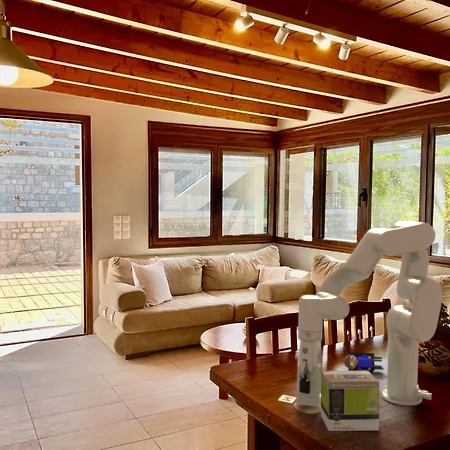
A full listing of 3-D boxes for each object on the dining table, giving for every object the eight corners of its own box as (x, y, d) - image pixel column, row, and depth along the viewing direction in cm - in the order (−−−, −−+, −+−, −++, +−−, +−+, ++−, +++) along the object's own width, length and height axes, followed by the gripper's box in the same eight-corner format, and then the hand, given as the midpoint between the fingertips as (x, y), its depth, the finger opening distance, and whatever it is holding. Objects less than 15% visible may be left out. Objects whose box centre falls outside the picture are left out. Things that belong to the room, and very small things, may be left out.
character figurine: (384, 376, 183) (344, 373, 186) (381, 368, 190) (343, 366, 193) (385, 357, 182) (344, 354, 185) (382, 349, 189) (343, 347, 192)
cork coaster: (325, 405, 156) (325, 403, 156) (318, 416, 148) (318, 414, 148) (298, 399, 160) (298, 397, 160) (290, 410, 152) (290, 408, 152)
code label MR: (296, 398, 161) (296, 397, 161) (292, 403, 157) (292, 403, 157) (282, 395, 163) (282, 394, 163) (277, 400, 159) (277, 400, 159)
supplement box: (319, 407, 149) (320, 367, 149) (295, 404, 151) (296, 365, 150) (320, 397, 156) (320, 359, 156) (297, 395, 158) (298, 357, 157)
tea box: (367, 416, 148) (369, 369, 147) (379, 432, 138) (380, 381, 137) (319, 416, 148) (320, 369, 147) (327, 432, 138) (328, 381, 137)
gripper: (313, 343, 143) (312, 400, 144) (328, 329, 159) (327, 381, 159) (289, 339, 146) (288, 395, 147) (306, 326, 162) (305, 377, 163)
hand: (308, 387), depth 153 cm, fingers closed on supplement box, 8 cm apart
